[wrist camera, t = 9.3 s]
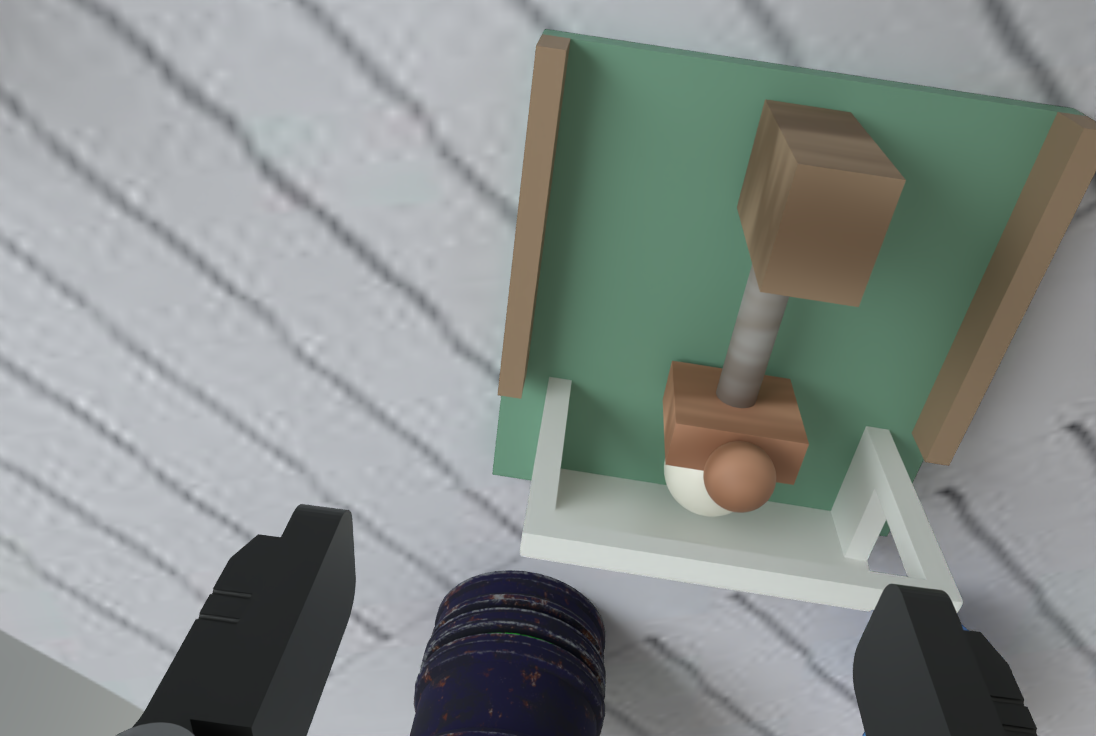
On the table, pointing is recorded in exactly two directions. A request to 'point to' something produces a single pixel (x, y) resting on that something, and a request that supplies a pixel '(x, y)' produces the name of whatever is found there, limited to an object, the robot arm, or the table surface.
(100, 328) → the table surface
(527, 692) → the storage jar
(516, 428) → the pitch
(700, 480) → the ball
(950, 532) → the table surface
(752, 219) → the kicker
